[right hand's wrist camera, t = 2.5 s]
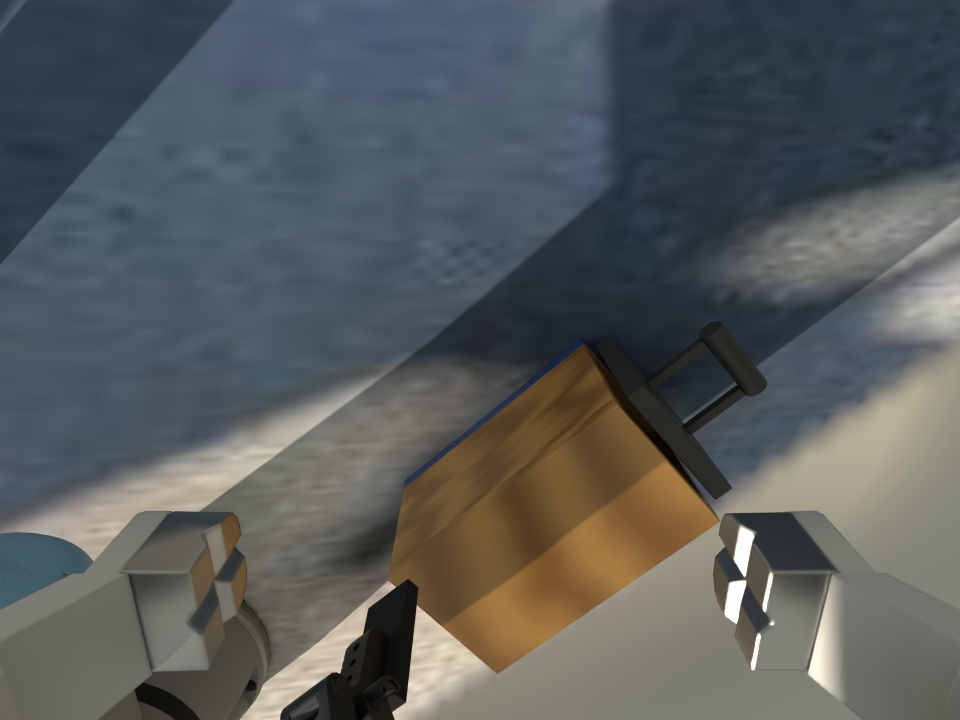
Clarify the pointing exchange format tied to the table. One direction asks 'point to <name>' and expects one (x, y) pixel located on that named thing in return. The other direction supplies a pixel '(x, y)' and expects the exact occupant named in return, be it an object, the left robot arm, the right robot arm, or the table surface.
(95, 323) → the table surface
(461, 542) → the cabinet
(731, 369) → the drawer
